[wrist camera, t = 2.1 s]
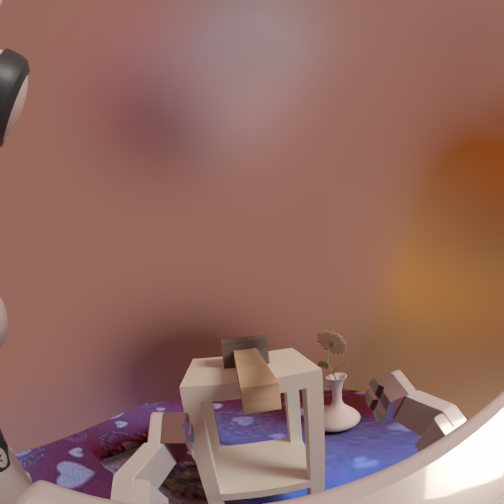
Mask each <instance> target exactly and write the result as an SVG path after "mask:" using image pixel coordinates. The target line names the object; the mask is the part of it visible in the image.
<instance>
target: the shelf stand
mask: <svg viewBox="0 0 504 504" xmlns="http://www.w3.org/2000/svg"><path fill="white" fill-rule="evenodd" d="M268 354H269V364H267V365H268V367H269V368H270V370H271V371H272V373H273V374H274V376H275V378H276V379H277V381H278V382H279V389H280V393H283V392H284V395H285V406H286V417H287V429H288V438H282V439H277V440H271V441H264V442H257V443H250V444H241V445H231V446H220V442H219V437H218V432H217V427H216V421H215V416H214V410H213V404H212V401H222V400H233V399H241V395H240V389H239V384H238V378H237V372H236V368H227V369H224V363H223V357H214V358H201V359H193V360H192V362H191V364H190V366H189V368H188V370H187V373H186V374H185V377H184V379H183V381H182V383H181V385H180V393H181V398H182V403H183V408H184V412H187V413H188V415H189V421H190V422H192V425H193V429H194V442H193V443H192V444H193V447H194V449H195V460H196V464H197V467H198V471H199V475H200V478H201V481H202V485H203V488H204V491H205V495H206V498H207V501H208V504H225V501H226V500H239V499H249V498H257V497H265V496H271V495H277V494H283V493H288V492H293V491H297V490H302V489H306V488H307V495H309V494H313V493H317V492H321V491H324V486H325V428H324V399H323V380H322V369H321V368H319V367H318V366H317V365H315V364H314V363H313V362H311V361H310V360H308V359H307V358H306V357H304V356H303V355H301V354H300V353H299V352H297V351H296V350H295V349H293V348H287V349H281V350H274V351H268ZM300 389H302V395H303V410H304V426H305V444H304V442H303V441H302V430H301V415H300V400H299V390H300ZM305 445H306V446H305Z"/></svg>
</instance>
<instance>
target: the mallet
mask: <svg viewBox="0 0 504 504" xmlns="http://www.w3.org/2000/svg"><path fill="white" fill-rule="evenodd" d="M221 347H222V355H223V363H224V369H227V368H236V372H237V378H238V384H239V389H240V395H241V400H242V406H243V411H244V414H250V413H258V412H264V411H271V410H277V409H281V399H280V389H279V382H278V381H277V379H276V378H275V376H274V374H273V373H272V371H271V370H270V368H269V367H268V365H267V364H269V354H268V345H267V338H266V337H265V336H264V335H258V336H249V337H241V338H231V339H222V340H221Z"/></svg>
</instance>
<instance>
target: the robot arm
mask: <svg viewBox="0 0 504 504" xmlns="http://www.w3.org/2000/svg"><path fill="white" fill-rule="evenodd" d="M2 1H3V0H0V6H1V4H2ZM29 71H30V70H29V65H28V60H26V59H25V58H24V57H23V56H21V55H20V54H18V53H16V52H14V51H12V50H10V49H8V48H7V49H5V50H4V51H2V50H0V147H1V146H2V145H3V143H4V140H5V139H6V137H7V136H8V135H9V134H10V132H11V131H12V129H13V128H14V126H15V124H16V122H17V120H18V118H19V116H20V114H21V112H22V109H23V106H24V103H25V99H26V94H27V87H28V75H29ZM7 332H8V316H7V311H6V308H5V305H4V302H3V301H2V298H1V297H0V347H1V346H2V345H3V343H4V342H5V339H6V336H7ZM369 385H370V388H369V389H368V390H367V392H366V395H365V397H366V403H367V405H368V407H369V408H370V409H372V410H374V412H373V415H374V417H375V419H376V421H377V422H378V424H381V423H384V422H386V421H389V420H392V419H393V420H395V421H397V422H398V423H400V424H402V425H403V426H405V427H407V428H408V429H410V430H412V431H413V432H415V433H417V434H418V435H420V436H421V437H420V438H419V439H418V440H417V442H416V444H415V446H416V447H417V449H418V451H419V452H417V453H415V454H413V455H411V456H410V457H408V458H406V459H404V460H402V461H400V462H398V463H395V464H393V465H391V466H389V467H387V468H385V469H382V470H380V471H378V472H375V473H373V474H371V475H368V476H366V477H363V478H360V479H358V480H355V481H352V482H349V483H346V484H344V485H340V486H337V487H334V488H331V489H328V490H324V491H321V492H317V493H313V494H309V495H305V496H301V497H297V498H292V499H287V500H282V501H277V502H271V503H264V504H504V391H503V392H502V393H501V394H500V395H498V396H497V397H496V398H495V399H494V400H493V401H492V402H490V403H489V404H488V405H487V406H485V407H484V408H483V409H482V410H481V411H479V412H478V413H477V414H475V415H474V416H473V417H472V418H470V419H469V420H467V419H466V418H465V417H464V415H463V414H462V413H461V412H460V410H459V409H458V408H457V406H456V405H455V404H452V403H450V402H447V401H444V400H442V399H439V398H437V397H434V396H432V395H429V394H427V393H424V392H422V391H420V390H419V391H416V390H415V388H414V387H413V386H412V384H411V383H410V382H409V381H408V379H407V378H406V377H405V376H404V374H403V373H402V372H401V371H400V370H397V371H394V372H392V373H388V374H385V375H382V376H380V377H377V378H374V379H372V380H371V381H370V384H369ZM193 442H194V429H193V425H192V422H190V421H189V415H188V413H187V412H152V414H151V417H150V425H149V433H148V442H147V443H144V444H143V445H142V446H141V447H140V448H139V449H138V450H137V451H136V452H135V453H134V454H133V455H132V456H131V457H130V458H129V460H128V461H127V462H126V463H125V464H124V465H123V466H122V467H121V468H120V469H119V470H118V471H117V472H116V473H115V474H114V476H113V484H112V491H111V500H110V499H105V498H101V497H96V496H92V495H88V494H85V493H81V492H77V491H74V490H71V489H68V488H65V487H62V486H59V485H56V484H53V483H50V482H48V481H44V480H39V481H37V482H35V483H33V484H32V477H31V476H30V474H29V473H28V472H25V471H24V469H23V468H22V466H21V464H20V463H19V461H18V459H17V458H16V456H15V454H14V452H13V451H12V449H11V448H9V447H8V446H7V443H6V441H5V438H4V435H3V434H2V432H1V430H0V504H168V498H167V497H166V496H164V495H163V494H162V493H161V492H160V491H159V490H158V488H159V487H160V485H161V484H162V483H163V481H164V480H165V478H166V477H167V475H168V474H169V472H170V471H171V470H172V468H173V467H174V465H175V464H176V462H191V461H195V449H194V447H193V444H192V443H193Z"/></svg>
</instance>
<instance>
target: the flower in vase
mask: <svg viewBox="0 0 504 504" xmlns="http://www.w3.org/2000/svg"><path fill="white" fill-rule="evenodd" d="M322 332H323V333H322ZM322 332H319V334H318V335H317V336H318V342H319V343H320V344H321V346H322V347H324V349H326V350H328V354H327V363H325V362H323V361H320V362H319V364H318V366H322V367H325V368H328V367H329V368H330V370H331V372H332V374H330V375H328V376H326V379H327V380H328V381H329V383H330V385H331V388H332V396H333V399H332V403H331V405H330V406H329V407H327V408H326V409H325V410H324V428H325V431H327V432H340V431H345V430H348V429H350V428H352V427H354V426H355V425H357V423H358V422H359V421H360V418H361V417H360V414H359V412H358V411H356V410H355V409H354V408H352V407H350V406H348V405H346V404H344V403H343V401H342V385H343V382H344V380H345V378H346V377H347V374H344V373H333V371H337V370H338V369H340V368H341V367H342V366H343V365H344V364H342V365H339V366H337V367H336V368H335V369H334V370H333V371H332V369H331V367H330V365H329V363H328V355H329V352H333V353H334V354H335V353H337V354H340V353H343V352H345V351H346V345H347V344H346V341H344V340H343V337H342V336H339V334H338V333H336V334H335V333H334V331H333V330H331V331H330V332H329V331H328V330H323V331H322Z"/></svg>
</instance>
